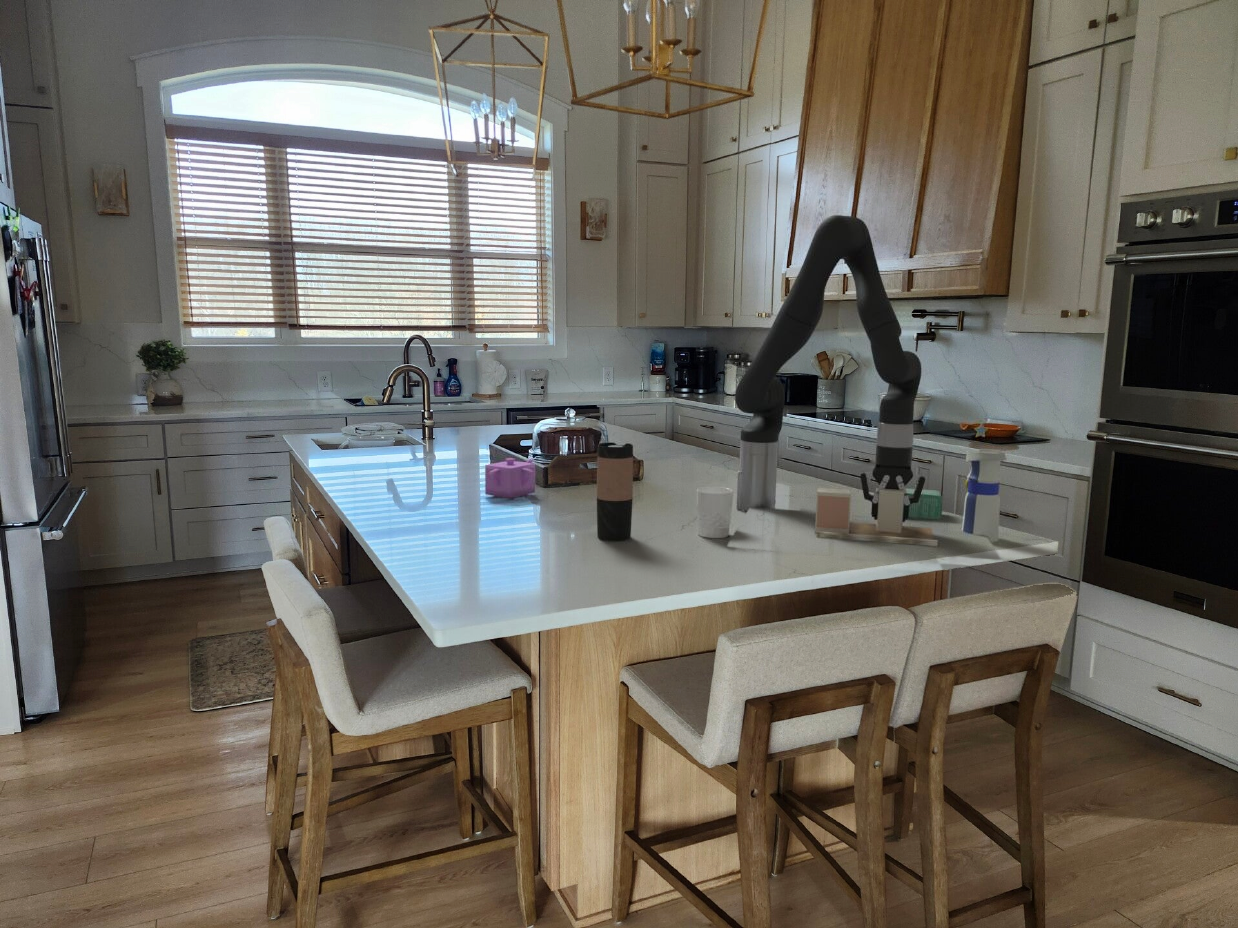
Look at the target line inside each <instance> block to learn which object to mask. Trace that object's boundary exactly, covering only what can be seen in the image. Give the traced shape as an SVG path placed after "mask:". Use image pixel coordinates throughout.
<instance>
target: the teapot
mask: <svg viewBox="0 0 1238 928" xmlns="http://www.w3.org/2000/svg"><path fill="white" fill-rule="evenodd" d="M534 460H535V459H534V458H531V459H528V460H526V461H525V462H524V461H516V459H515V458H511V457H509V458H508V457H507V458H505V461H500V462H495V463H489V464H486V465H484V472H485V473H484V481H485V482H484V484H485V485H484V487H485V493H484V495H486V496H487V495H488V496H492V497H494V498H507V500H509V501H511V500H516V498H518V497H521V498H525V497H527V496H528V495H530V494H534V493H536V464H535V463H533V461H534Z"/></svg>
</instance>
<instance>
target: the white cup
mask: <svg viewBox="0 0 1238 928" xmlns="http://www.w3.org/2000/svg"><path fill="white" fill-rule="evenodd" d="M733 497H734V489H732V488H728V487H724V486H723V487H722V486H702V487H698V488H697V489H696V521H697V522H696V523H697V535H698V536H700V537H701V538H702V537H703V538H707V539H723V538H728V537H729V535H730V524H731V519H732V510H733V509H732V508H733Z"/></svg>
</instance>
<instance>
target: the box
mask: <svg viewBox="0 0 1238 928" xmlns="http://www.w3.org/2000/svg"><path fill="white" fill-rule="evenodd" d="M905 489H906V492H907V495H908V498H909V497H913V494H914V491H915V488H906V487H905ZM942 496H943V495H941V493H940V491H939V490H933V489H922V492H921V495H920V499H919V502H918V503H913V504H910V506H909V517H908V518H914V519H927V520H928V519H929V520H930V519H931V520H941V519H942V516H943V515H942V514H943V497H942Z"/></svg>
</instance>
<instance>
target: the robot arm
mask: <svg viewBox="0 0 1238 928" xmlns="http://www.w3.org/2000/svg"><path fill="white" fill-rule="evenodd" d="M841 260H843V261H844V262H845V264H846V266H847V267H848V269H849V271H850V274H851V275H852V278H853V281H854V287H855V297H856V298H855V299H856V309H857V313H858V316H859V320H860V322H861V324H862V327H863V329H864V331H865V334H866V336H867V338H868V341H869V343H870V349H871V350H870V352H871V354H872V359H873V363H874V367H875V370H876V372H877V374H878V376H879V377H880V379H881V380H882V381H883V382H885V383H886V384H888V389H887V393H885V396H883V397H882V399H881V400H880V404H879V417H878V418H879V419H878V426H877V433H876V438H875V442H876V445H875V446H876V448H875V462H874V464H875V465H874V468H873V469H872V471H866V472H865V471H861V472H860V474H859V477H860V483H861V488H862V489H861V490H862V492H863V493H862V494H863V499H864V500H865V501H869V502H871V508H870V509H871V513H870V514H871V517H872V518H873V520H875V521H877V518H878V500H879V489H881V488H882V489H896V490H903V491H904V509H903V523H905V522H906V520H908V519H909V518H910V517H909V506H910V504H913V503H918V502H919V499H920V495H921V492H922V490H924V486H925V483H926V476H925V475H924V474H920V475H919V474H916V473H913V471H912V462H913V459H912V458H913V446H914V415H915V414H914V413H915V412H914V411H915V401H916V398H917V395H918V391H919V387H920V384H921V378H922V363H921V360H920V358H919V357H918V355H917V354H916V353H914V352H912V351H909V350H904V349H903V347H902V344H901V340H900V337H901V336H902V328H901V324H900V321H899V319H898V318H897V316H896V315H897V314H896V313H895V310H894V307H893V306H892V303H891V301H890V299H889V297H888V294H887V291H886V289H885V285H884V283H883V280H882V279H883V278H882V275H881V273H880V268H879V266H878V261H877V259H876V254H875V249H874V245H873V242H872V238H871V235H870V231H869V228H868V226H867V225H866V223H865V222H864V220H862V218H859V217H856V216H851V215H841V214H840V215H838V214H837V215H835V214H834V215H830V216H828V217H826V218H825V219H823V220H822V222H821V223H820V224H819V225H818V227H817V228H816V230H815V232H814V235H813V238H812V240H811V243H810V245H809V248H808V250H807V253H806V255H805V258H804V260H803V263H802V266H801V267H800V270H799V272H798V274H797V276H796V278H795V279H794V282H793V284H792V286H791V288H790V289H789V292H788V293H787V296H786V298H785V300H784V302H783V303H782V305H781V307H780V309H779V311H778V313H777V315H776V316H775V319H774V321H773V323H772V325H771V327H770V330H769V331H768V333H767V335H766V337H765V338H764V340H763V342H762V344H761V346H760V348H759V350H758V351H757V354H755V357H754V359H753V360H752V362H751V363H750V365H749V366H748V367H747V369H746V371H745V372H744V373H743V375H742V376H741V378H740V380H739V382H738V384H737V386H736V389H735V394H734V398H735V404H736V407H737V408H738V410H739V411H741V412H742V413H745V414H752V419H751V420H750V422H749V423H748V424H746V425H745V426H743V427H742V429H741V431H740V439H739V445H740V446H739V447H740V448H739V467H738V469H739V470H737V486H736V487H737V489H736V510H741V511H746V512H748V511H749V509H751V508H753V509H764V510H765V509H766V510H775V509H776V501H777V500H776V497H777V496H776V495H777V473H778V452H779V451H778V450H779V447H778V446H779V435H780V433H781V430H782V428H783V421H784V420H783V419H784V410H785V388H784V385H783V383H782V382H781V380H780V379H779V378H778V377H776V375H777V374H778V372H780V370H781V369H782V367H783V366H784V365H786V364H787V363H788V362H789V361H790V360H791V359H792V358H793V357H794V356H795V355H796V354H797V353H798V352H799V351H801V350H802V348H804V346H806V344H807V343H808V341H809V340H810V339H811V337H812V335H813V333H814V332H815V329H816V328H817V326H818V324H819V322H820V320H821V319H822V315H823V311H824V310H823V309H824V302H825V292H826V291H825V290H826V287H827V285H828V281H829V279H830V277H831V276H832V273H833V272H834V270H835V268H836V267H837V265H838V263H839V262H840V261H841ZM872 477H873V478H874V480H875V481H876V483H877V487H876V488H875V491H874V493H873V494H871V493H870V491H869V484H868V483H870V482H871V478H872ZM912 479H913V483H914V485H915V488H914V489H915V491H914V494H913V497H909V498H908V495H907V492H906V489H905V488H906V487H907V485H908V483H909V482H910V481H911V480H912Z"/></svg>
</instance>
